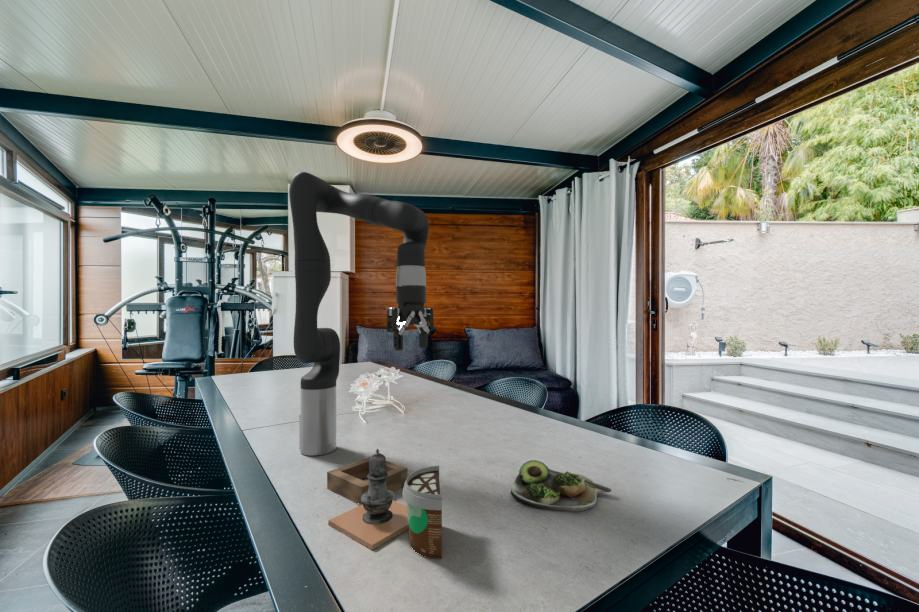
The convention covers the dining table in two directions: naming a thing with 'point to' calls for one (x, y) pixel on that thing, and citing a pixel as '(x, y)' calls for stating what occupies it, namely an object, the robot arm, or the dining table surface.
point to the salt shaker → (377, 492)
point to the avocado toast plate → (553, 488)
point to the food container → (424, 511)
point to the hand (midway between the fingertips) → (411, 349)
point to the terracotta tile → (369, 533)
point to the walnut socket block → (350, 477)
